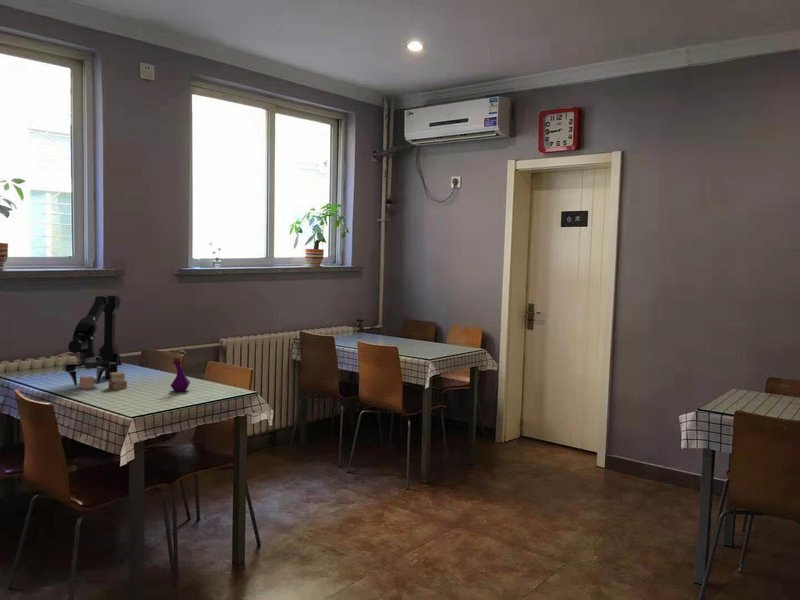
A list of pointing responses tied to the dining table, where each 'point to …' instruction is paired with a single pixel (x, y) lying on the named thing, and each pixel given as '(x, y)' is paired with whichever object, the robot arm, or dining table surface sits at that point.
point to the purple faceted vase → (179, 377)
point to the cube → (87, 382)
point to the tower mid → (117, 377)
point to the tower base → (117, 385)
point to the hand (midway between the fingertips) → (86, 384)
